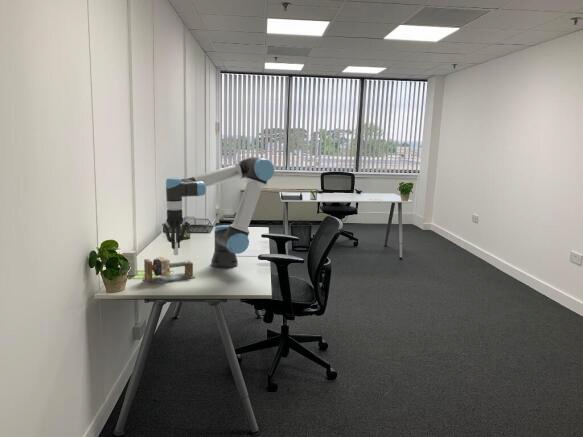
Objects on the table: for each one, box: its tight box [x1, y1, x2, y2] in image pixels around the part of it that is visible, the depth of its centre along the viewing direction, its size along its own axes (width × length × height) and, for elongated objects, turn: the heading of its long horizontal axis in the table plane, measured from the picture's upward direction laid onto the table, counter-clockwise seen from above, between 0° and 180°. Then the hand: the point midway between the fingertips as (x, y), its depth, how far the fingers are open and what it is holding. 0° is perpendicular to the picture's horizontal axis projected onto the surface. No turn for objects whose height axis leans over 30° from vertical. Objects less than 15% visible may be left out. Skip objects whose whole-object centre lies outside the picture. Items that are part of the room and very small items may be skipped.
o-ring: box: [152, 258, 162, 277], centre depth 216 cm, size 2×8×8 cm, turn 35°
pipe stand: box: [142, 258, 196, 286], centre depth 220 cm, size 24×9×11 cm, turn 125°
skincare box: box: [121, 250, 138, 276], centre depth 225 cm, size 6×4×12 cm
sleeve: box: [155, 256, 171, 277], centre depth 218 cm, size 4×8×8 cm, turn 35°
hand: (175, 254), depth 221 cm, fingers closed
